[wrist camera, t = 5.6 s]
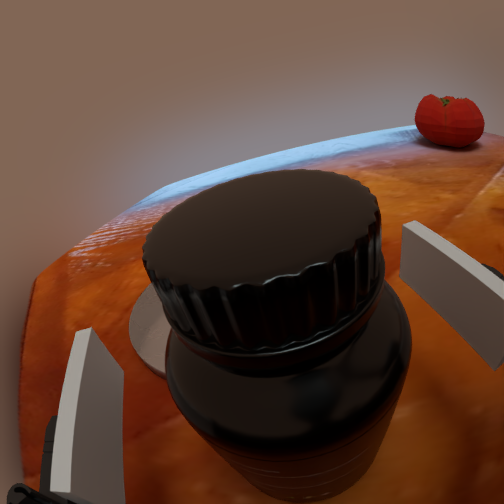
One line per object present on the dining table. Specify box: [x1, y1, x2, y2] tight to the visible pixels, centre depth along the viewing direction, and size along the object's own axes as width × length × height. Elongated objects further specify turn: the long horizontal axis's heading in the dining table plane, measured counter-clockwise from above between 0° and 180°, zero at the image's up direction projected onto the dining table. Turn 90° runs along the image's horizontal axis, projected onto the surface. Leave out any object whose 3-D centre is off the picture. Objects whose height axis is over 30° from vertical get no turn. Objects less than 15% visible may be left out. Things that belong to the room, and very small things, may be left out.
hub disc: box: [129, 283, 171, 380], centre depth 22 cm, size 14×14×1 cm
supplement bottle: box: [142, 169, 412, 503], centre depth 9 cm, size 7×7×12 cm
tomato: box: [415, 94, 484, 148], centre depth 45 cm, size 14×16×10 cm
